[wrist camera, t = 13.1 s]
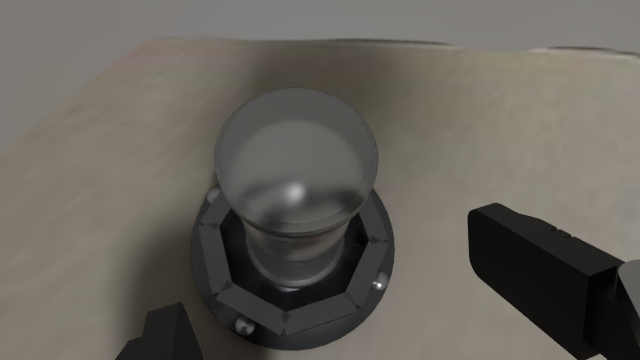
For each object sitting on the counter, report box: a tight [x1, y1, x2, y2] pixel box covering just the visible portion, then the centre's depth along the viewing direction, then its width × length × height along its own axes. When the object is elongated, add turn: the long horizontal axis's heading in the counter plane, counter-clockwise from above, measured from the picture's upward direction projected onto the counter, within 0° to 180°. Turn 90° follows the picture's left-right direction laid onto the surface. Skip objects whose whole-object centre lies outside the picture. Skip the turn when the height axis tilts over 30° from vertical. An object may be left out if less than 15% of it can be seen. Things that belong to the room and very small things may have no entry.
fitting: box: [214, 87, 378, 289], centre depth 16 cm, size 5×5×10 cm
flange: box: [191, 184, 395, 351], centre depth 21 cm, size 11×11×2 cm
